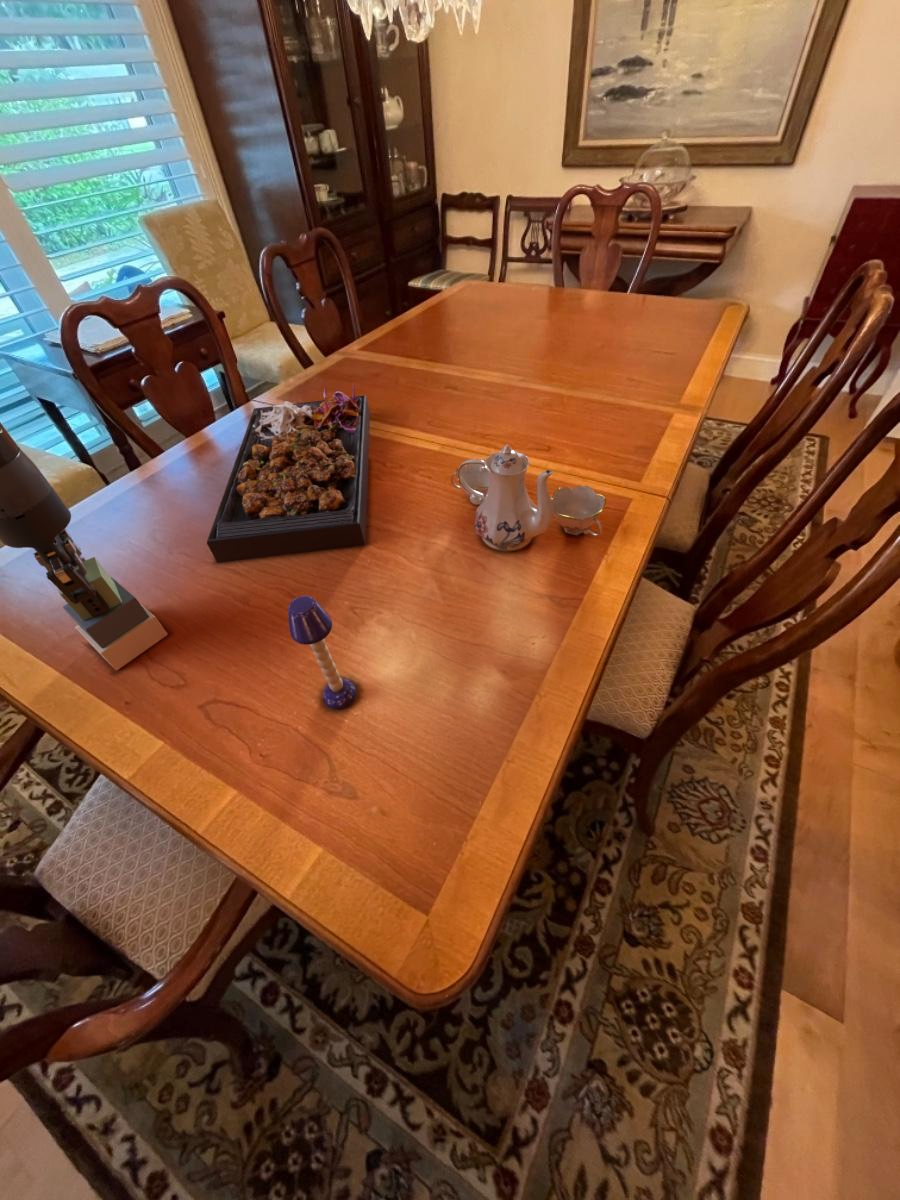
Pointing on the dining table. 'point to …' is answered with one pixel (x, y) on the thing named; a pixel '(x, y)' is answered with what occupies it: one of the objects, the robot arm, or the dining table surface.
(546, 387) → the dining table surface
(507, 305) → the dining table surface
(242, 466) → the food platter
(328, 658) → the toy lamp
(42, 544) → the robot arm
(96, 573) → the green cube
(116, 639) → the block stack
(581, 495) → the chinaware
